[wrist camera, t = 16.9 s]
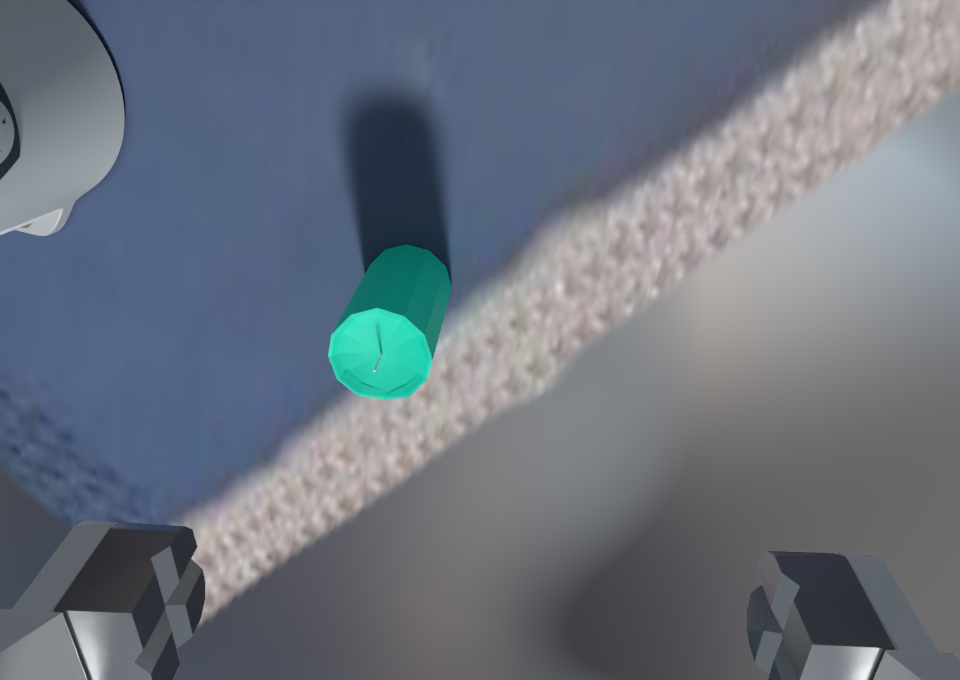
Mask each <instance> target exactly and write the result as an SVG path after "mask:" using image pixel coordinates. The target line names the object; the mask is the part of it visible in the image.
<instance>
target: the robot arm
mask: <svg viewBox="0 0 960 680" xmlns="http://www.w3.org/2000/svg"><path fill="white" fill-rule="evenodd" d="M124 122H125V117H124V103H123V96H122V92H121V87H120V84H119V80H118V77H117V74H116V71H115V68H114V66H113V64H112V61H111V59H110V57H109V55H108V53H107V51H106V49H105V48H104V46H103V44H102V42H101V41H100V39H99V38H98V36H97V35H96V33H95V32H94V30H93V29H92V28H91V26H90V25H89V24H88V22H87V21H86V20H85V19H84V18H83V16H82V15H81V14H80V13H79V12H78V11H77V10H76V9H75V8H74V7H73V6H72V5H71V4H70V3H69V2H68V1H67V0H0V235H2V234H4V233H7V232H9V231H12V230H17V231H21V232H26V233H30V234H34V235H39V236H47V235H50V234H52V233H55V232H58V231H59V230H60V229H61V228H62V227H63V226H64V225H65V223H66V221H67V219H68V217H69V215H70V212H71V210H72V207H73V205H74V203H75V202H76V201H77V199H78V198H80V197H81V196H82V195H83V194H85V193H86V192H87V191H89V190H90V189H91V188H93V187H94V186H96V185H97V184H98V183H99V182H100V181H101V180H102V179H103V178H104V177H105V176H106V174H107V173H108V172H109V171H110V169H111V167H112V166H113V164H114V162H115V160H116V158H117V156H118V153H119V151H120V147H121V144H122V139H123V134H124ZM196 548H197V544H196V540H195V537H194V533H193V529H190V528H188V527H185V526H170V525H155V524H141V523H126V522H119V523H114V522H100V521H86V520H85V521H83V522H82V523H80V524H78V525H76V526H75V527H74V528H73V529H72V530H71V532H70V533H69V534H68V536H67V537H66V538H65V540H64V541H63V542H62V544H61V545H60V546H59V548H58V549H57V550H56V552H55V553H54V554H53V556H52V557H51V558H50V560H49V561H48V562H47V564H46V565H45V566H44V567H43V569H42V570H41V571H40V573H39V574H38V575H37V577H36V578H35V579H34V581H33V582H32V583H31V585H30V586H29V587H28V589H27V590H26V591H25V593H24V594H23V595H22V597H21V598H20V599H19V600H18V602H17V603H16V605H15V606H14V607H13V609H12V610H0V680H173V678H174V676H175V674H176V672H177V670H178V668H179V666H180V660H179V656H178V652H177V648H178V647H179V646H181V645H182V644H183V643H185V642H186V641H187V640H189V639H190V638H191V637H193V635H194V633H195V630H196V628H197V626H198V624H199V621H200V619H201V615H202V610H203V606H204V601H205V579H204V574H203V569H202V568H200V567H199V566H198V565H197V564H196V563H195V562H194V561H193V560H192V559H191V558H192V556H193V554H194V552H195V550H196ZM757 573H758V575H759V578H760V581H761V583H762V585H761V586H760V587H758V588H757V589H756V590H754V591H753V592H752V593H751V594H750V598H749V602H748V606H747V611H746V615H747V617H746V622H747V623H746V624H747V626H746V627H747V629H746V630H747V636H748V641H749V646H750V650H751V653H752V656H753V659H754V662H755V663H756V664H757V665H758V666H759V667H760V668H761V669H762V670H763V671H765V672H766V673H767V674H768V675H769V678H768V680H960V659H959V658H957V657H956V656H955V655H953V654H951V653H941V652H939V650H938V649H937V647H936V645H935V644H934V642H933V640H932V639H931V637H930V636H929V634H928V632H927V631H926V629H925V627H924V626H923V624H922V622H921V621H920V619H919V617H918V616H917V614H916V612H915V611H914V609H913V608H912V606H911V604H910V603H909V601H908V600H907V598H906V596H905V594H904V593H903V591H902V590H901V588H900V586H899V585H898V583H897V581H896V580H895V578H894V576H893V575H892V573H891V571H890V570H889V568H888V567H887V565H886V563H885V562H884V560H883V559H882V558H880V557H879V556H877V555H876V554H854V553H838V554H836V553H817V552H788V551H766V552H765V553H764V554H763V555H762V557H761V559H760V562H759V565H758V568H757Z"/></svg>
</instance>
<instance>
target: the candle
mask: <svg viewBox="0 0 960 680" xmlns="http://www.w3.org/2000/svg"><path fill="white" fill-rule="evenodd" d="M451 289H452V285H451V281H450V278H449V275H448V271H447V268H446V266H445V265H444V264H443V263H442V262H441V261H440V260H439V259H438V258H437V257H436V256H435V255H434V254H433V253H432V252H430V251H429V250H426V249H422V248H419V247H415V246H412V245H408V244H406V245H402V246H397V247H393V248H389V249H385V250H384V251H383V252H382V253H381V254H380V255H379V256H378V257H377V258H376V259H375V260H374V261H373V262H372V263H371V264H370V266H369V268H368V270H367V271H366V273H365V275H364V277H363V279H362V280H361V282H360V284H359V286H358V288H357V289H356V291H355V293H354V295H353V297H352V298H351V300H350V302H349V304H348V306H347V307H346V309H345V311H344V313H343V315H342V316H341V318H340V320H339V322H338V324H337V325H336V327H335V329H334V331H333V333H332V335H331V341H330V347H329V353H328V357H329V360H330V362H331V365H332V368H333V370H334V373H335V375H336V378H337V380H339V381H340V382H341V383H342V384H344V385H345V386H346V387H347V388H349V389H350V390H351V391H352V392H354V393H355V394H356V395H358V396H365V397H372V398H379V399H394V398H407V397H409V396H410V395H411V394H412V393H414V392H415V391H416V390H417V389H418V388H419V387H420V386H421V385H422V384H423V383H424V382H425V381H426V380H427V378H428V374H429V371H430V367H431V364H432V360H433V356H434V352H435V349H436V345H437V341H438V337H439V334H440V330H441V326H442V322H443V319H444V315H445V311H446V307H447V304H448V300H449V296H450V292H451Z"/></svg>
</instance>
